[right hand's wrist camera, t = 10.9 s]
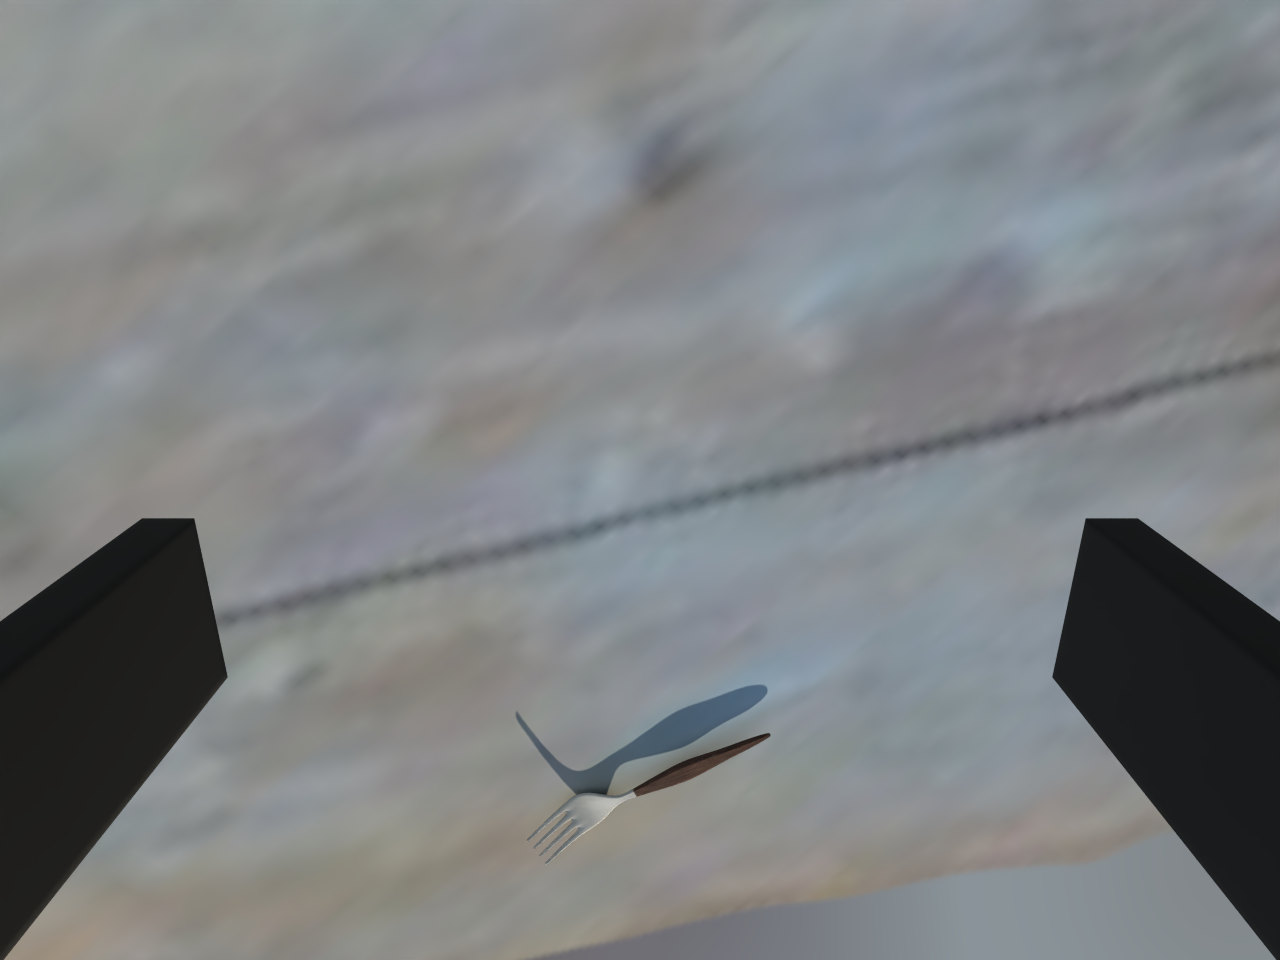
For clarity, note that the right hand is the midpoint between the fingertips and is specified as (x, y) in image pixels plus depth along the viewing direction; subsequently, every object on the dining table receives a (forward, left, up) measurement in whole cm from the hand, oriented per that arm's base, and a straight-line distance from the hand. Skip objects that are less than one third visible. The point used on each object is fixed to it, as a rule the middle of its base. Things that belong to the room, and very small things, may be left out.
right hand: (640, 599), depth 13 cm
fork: (+22, -19, -30) cm, 42 cm away
